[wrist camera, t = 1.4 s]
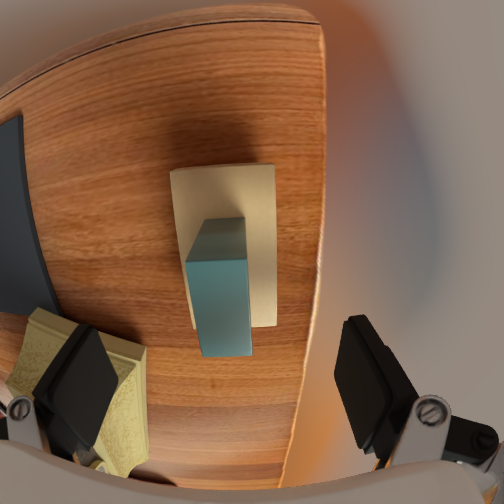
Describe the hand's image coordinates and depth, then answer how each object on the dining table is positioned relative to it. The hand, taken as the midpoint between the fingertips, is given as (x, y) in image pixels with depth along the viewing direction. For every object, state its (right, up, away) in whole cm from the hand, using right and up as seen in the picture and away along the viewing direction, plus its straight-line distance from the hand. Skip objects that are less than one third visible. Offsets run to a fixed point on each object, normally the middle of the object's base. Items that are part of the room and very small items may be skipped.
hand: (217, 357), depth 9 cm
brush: (0, +5, +11) cm, 12 cm away
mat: (-29, +6, +9) cm, 31 cm away
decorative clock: (-18, -16, +18) cm, 30 cm away
